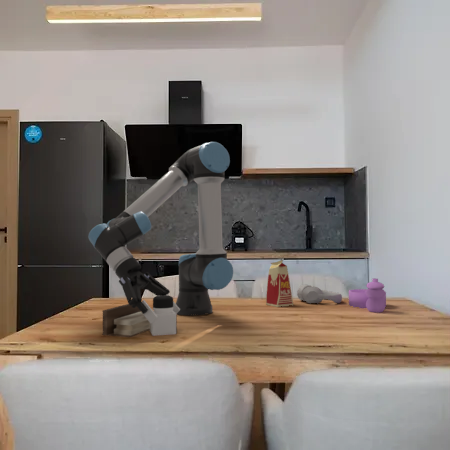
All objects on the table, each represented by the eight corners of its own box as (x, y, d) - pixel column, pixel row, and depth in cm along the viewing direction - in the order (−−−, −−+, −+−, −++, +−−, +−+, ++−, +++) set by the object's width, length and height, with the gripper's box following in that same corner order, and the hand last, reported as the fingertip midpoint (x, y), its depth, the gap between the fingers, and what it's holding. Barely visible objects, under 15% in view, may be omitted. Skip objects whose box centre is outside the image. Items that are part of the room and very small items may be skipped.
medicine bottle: (176, 338, 120) (176, 297, 120) (152, 339, 118) (152, 298, 118) (172, 332, 127) (172, 294, 127) (149, 334, 125) (149, 294, 125)
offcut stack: (113, 333, 120) (114, 319, 120) (140, 324, 133) (140, 311, 134) (131, 335, 118) (131, 320, 118) (156, 325, 131) (156, 312, 131)
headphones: (307, 304, 178) (348, 309, 183) (309, 286, 179) (350, 291, 183) (290, 298, 196) (328, 302, 201) (292, 282, 197) (330, 287, 201)
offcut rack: (102, 338, 119) (102, 310, 120) (136, 326, 136) (136, 301, 136) (130, 341, 116) (130, 312, 116) (161, 328, 133) (161, 303, 133)
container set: (345, 303, 186) (345, 274, 186) (380, 303, 184) (379, 274, 185) (358, 313, 161) (357, 279, 162) (398, 313, 160) (397, 279, 160)
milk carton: (293, 305, 180) (293, 259, 181) (277, 307, 175) (277, 260, 175) (279, 302, 187) (279, 259, 188) (264, 304, 182) (263, 259, 183)
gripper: (139, 270, 140) (178, 317, 134) (90, 276, 117) (135, 333, 111) (152, 255, 139) (192, 302, 133) (106, 258, 115) (152, 315, 109)
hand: (166, 316), depth 122 cm, fingers open, 13 cm apart
